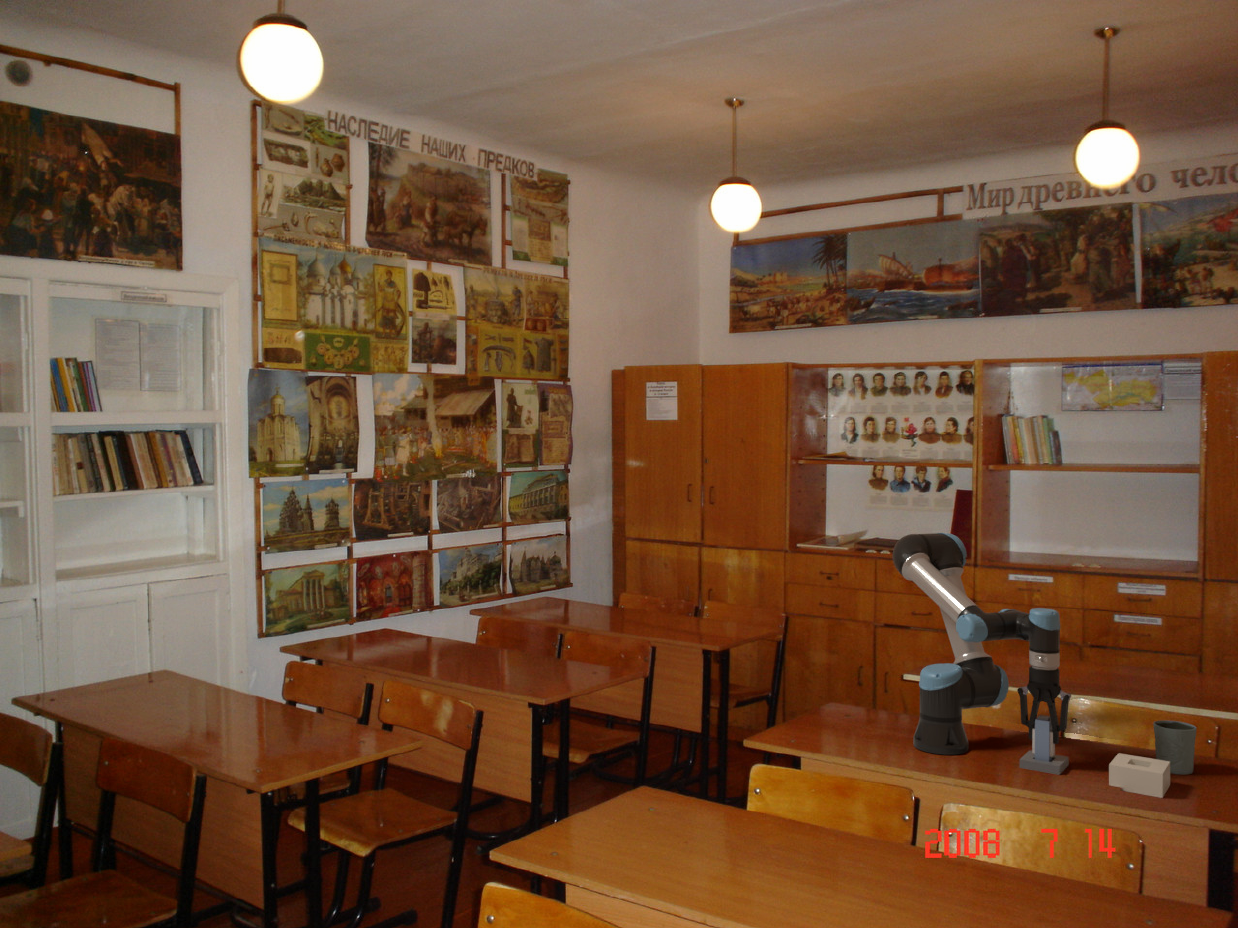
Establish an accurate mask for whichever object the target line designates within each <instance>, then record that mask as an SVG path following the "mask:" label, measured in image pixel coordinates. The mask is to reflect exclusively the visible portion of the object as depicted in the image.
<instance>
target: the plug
mask: <svg viewBox="0 0 1238 928" xmlns="http://www.w3.org/2000/svg"><path fill="white" fill-rule="evenodd" d="M1051 730H1052V725H1051V719H1050V715H1043V714H1039V715H1037V719H1035V759H1037V760H1043V761H1048V762H1052V757H1051V756H1049V740H1050V731H1051Z"/></svg>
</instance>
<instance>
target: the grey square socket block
mask: <svg viewBox="0 0 1238 928" xmlns="http://www.w3.org/2000/svg"><path fill="white" fill-rule="evenodd" d="M1069 760H1070V759H1069V756H1065V755H1059V754H1054V755H1053V756H1052V762H1048V761H1043V760H1037V759H1035V754H1034V753H1032V749H1031V750H1028V751H1027V752H1026V753H1025V754H1024V755H1023V756H1022V757H1020V758H1019V769H1024V770H1028V771H1029V770H1031V771H1036V772H1041V773H1045V774H1046V773H1048V774H1052V775H1061V774H1062V773H1063V772H1064V771H1065V769H1067V768H1068V767H1069V765H1070V764H1069V763H1070V762H1069Z"/></svg>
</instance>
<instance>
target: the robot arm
mask: <svg viewBox="0 0 1238 928" xmlns="http://www.w3.org/2000/svg"><path fill="white" fill-rule="evenodd" d="M892 550H893V551H892V555H891V556H892V558H891V559H892V561H893V565H894V567H895V569H896V570H897V571H898V573H899V574H900V576H902V577H903V578H904V579H905V580H907V581H910V582H911V581H912V582H913V583H915V584H916V586H917V587H918V588H919V589H920V590H921V591H923V593H924V594H926V595H927V596H928V597H929V599H931V600H932V601H933V603H935V604H936V605H937V606H938V607H939V610H940V613H941V617H942V620H943V622H944V626H945V629H946V633H947V635H948V639H949V642H950V645H951V646H950V647H951V649H952V652H953V656H954V662H953V663H947V662H946V663H941V662H940V663H934V664H928V665H926V666H924V667H923V668H922V669H921V671H920V673H919V682H918V686H919V719H918V723H917V726H916V729H915V732H914V734H913V737H912V739H913V742H912V743H913V746H914V747H913V748H916V749H918V751H922V752H925V753H930V754H934V755H945V756H946V755H947V756H948V755H949V756H950V755H962V754H965V753H966V752H968V751H969V740H968V737H967V733H966V730H965V728H964V725H963V710H969V709H977V708H978V709H979V708H989V707H990V708H991V707H994V706H998V705H1000V704H1002V703H1003V702H1004V701H1005V699H1006V698H1007V695H1008V694H1009V693H1008V692H1009V688H1010V687H1009V685H1010V683H1009V678H1008V675H1007V672H1006V671H1005V670H1004V668H1002V667H1001V666H1000V665H997V664H994V660H993V657H992V655H990V654H988V653H986V652H985V649H984V646H983V643H982V642H990V641H991V642H993V641H1002V640H1012V639H1013V640H1016V639H1017V640H1023V641H1026V642H1028V644H1029V646H1028V652H1029V653H1028V655H1029V657H1028V658H1029V659H1028V660H1029V661H1028V664H1029V665H1030V666H1029V668H1028V683H1027V685H1025V686H1020V687H1017V691H1016V692H1017V693H1018V696H1019V706H1020V723H1021V725H1023V726H1026V727H1027V728H1028V740H1029V741H1030V740H1031V741H1032V745H1031V747H1032V749H1031V751H1032V753H1034V754H1035V719H1037V717H1038V712H1039V710H1040V709H1039V708H1040V704H1041V702H1043V703H1046V705H1047V707H1048V712H1049V713H1048V714H1049V716H1050V719H1051V725H1052V730H1051V731H1050V740H1049V756H1051V757H1052V756H1053V755H1056V745H1057V744H1059V742H1060V732H1065V730H1066V729H1067V727H1068V715H1069V702H1070V700H1071V698H1072V694H1071V693H1070V692H1068V693H1066V692H1065V691H1064V690H1062V688H1061V685H1060V669H1059V668H1060V666H1061V665H1060V660H1061V656H1060V652H1061V650H1060V643H1061V641H1060V639H1061V626H1062V625H1061V621H1060V618H1061V617H1060V612H1059V611H1058V610H1056V609H1053V608H1045V607H1035V608H1031V609H1030V610H1029V613H1028V612H1024V611H1021V610H1017V609H1014V608H1012V609H1011V608H1010V609H1009V608H1002V609H1001V610H1000V611H998V612H986V611H984V610H983V609H981V608H980V607H979V605H977V604H976V603H975V602H973V600H971V599H970V598H969V597H968V596H967V593H966V590H965V586H964V584H963V581H962V580H963V579H962V575H963V574H964V571H965V570H964V566H965V565H966V563H967V559H966V558H967V557H968V554H967V549H966V547H965V544H964V543H963V541H962V540H961V539H960V538H959V537H958V536H957V535H954V534H952V533H946V532H935V533H912V534H907V535H903V536H902V537H901V538H900V539H898V540H897V541H896V543H895V545H894V547H893V549H892ZM1028 693H1030V695H1031V696H1032V697H1033V698H1032V706H1031V710H1030V715H1029V711H1028V710H1029V708H1028V707H1029V706H1028V696H1027V695H1028ZM1058 696H1060V700H1061V706H1060V707H1061V708H1060V718H1058V712H1057V707H1056V699H1057V697H1058Z"/></svg>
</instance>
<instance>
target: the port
mask: <svg viewBox="0 0 1238 928" xmlns="http://www.w3.org/2000/svg"><path fill="white" fill-rule="evenodd" d="M1108 786H1111V787H1116V788H1121V789H1120V791H1122V792H1123V791H1124V792H1127V793H1134V794H1138V795H1143V796H1144V795H1145V796H1147V797H1148V796H1149V797H1155V798H1160V799H1163V798H1164V796H1165V795H1166V793H1167V791H1168V789H1169V787H1170V786H1171V773H1170V761H1164V760H1158V759H1156V758H1151V757H1144V756H1138V755H1132V754H1127V753H1121V752H1119V753H1117V755H1115V756H1114V758H1113V759H1112V760H1111V762H1109V764H1108Z"/></svg>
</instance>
